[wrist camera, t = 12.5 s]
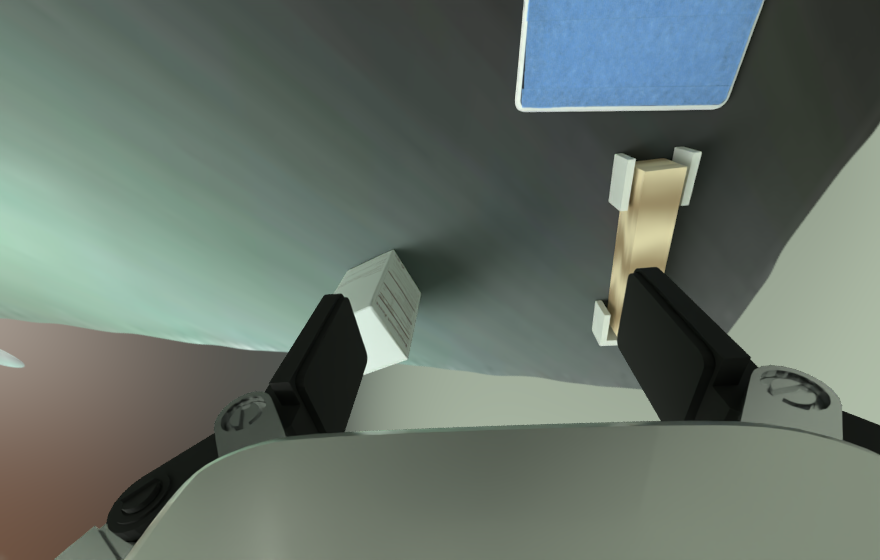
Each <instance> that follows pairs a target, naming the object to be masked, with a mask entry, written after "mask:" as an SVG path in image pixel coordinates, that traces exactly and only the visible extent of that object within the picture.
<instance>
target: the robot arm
mask: <svg viewBox="0 0 880 560" xmlns="http://www.w3.org/2000/svg"><path fill="white" fill-rule="evenodd" d="M617 344H618V347H619V349H620V351H621V353H622V355H623V356H624V358H625V360H626V362H627V363H628V365H629V367H630V368H631V370H632V372H633V374H634V375H635V377H636V379H637V381H638V382H639V384H640V386H641V387H642V389H643V391H644V393H645V394H646V396H647V398H648V399H649V401H650V403H651V405H652V406H653V408H654V410H655V411H656V413H657V415H658V417H659V418H660V420H661V421H646V422H645V421H643V422H642V421H641V422H607V423H574V424H573V423H572V424H541V425H513V426H512V425H511V426H482V427H454V428H429V429H404V430H379V431H358V432H345V428H346V426H347V423H348V419H349V417H350V414H351V410H352V407H353V404H354V401H355V398H356V395H357V392H358V389H359V386H360V383H361V380H362V377H363V374H364V371H365V368H366V365H367V360H368V357H367V352H366V349H365V346H364V343H363V340H362V337H361V334H360V331H359V328H358V325H357V321H356V318H355V315H354V312H353V309H352V306H351V303H350V300H349V298H348V297H344V296H343V294H341V293H340V294H328V295H324V296H323V298H322V299H321V301H320V303H319V304H318V306H317V307H316V309H315V311H314V312H313V314H312V315H311V317H310V319H309V320H308V322H307V323H306V325H305V327H304V328H303V330H302V331H301V333H300V335H299V336H298V338H297V339H296V341H295V343H294V344H293V346H292V347H291V349H290V351H289V352H288V354H287V355H286V357H285V359H284V360H283V362H282V363H281V365H280V366H279V368H278V370H277V371H276V373H275V374H274V376H273V378H272V379H271V381H270V382H269V386H268V388H267V389H266V391H265V392H257V391H256V392H251V393H247V394H245V395H243V396H240V397H238V398H237V399H235V400H234V401H232V402H231V403H229V404H228V405H227V406H226V407H225V408H224V409H223V410H222V411H221V412H220V414H219V415H218V417H217V419H216V421H215V426H214V432H215V433H214V434H212V435H211V436H209V437H207V438H206V439H204V440H202V441H201V442H199V443H197V444H196V445H194V446H193V447H191V448H189V449H188V450H186V451H184V452H183V453H181V454H179V455H178V456H176V457H175V458H173V459H171V460H170V461H168V462H166V463H165V464H163V465H161V466H160V467H158V468H157V469H155V470H153V471H152V472H150V473H148V474H147V475H145V476H143V477H142V478H141V479H139V480H138V481H136V482H135V483H134V484H132V485H131V486H130V487H129V488H128V489H127V490H126V491H125V492H124V493H122V495H121V496H120V497H119V498H118V500H117V501H116V502H115V503H114V505H113V507H112V508H111V510H110V512H109V514H108V519H107V523H106V524H105V525H104V526H103V527H101V528H100V529H98V528H97V527H96V526H94V527H93V528H91V529H90V530H89V531H88V532H87V533H85V534H84V535H83V536H82V537H81V538H79V539H78V540H77V541H76V542H75V543H73V544H72V545H71V546H70V547H68V548H67V549H66V550H65V551H64V552H63V553H61V554H60V555H59V556H58V557H56V558H55V559H54V560H880V425H878V424H875V423H873V422H870V421H867V420H865V419H862V418H860V417H857V416H854V415H852V414H849V413H847V412H844V411H842V404H841V401H840V398H839V397H838V396H837V394H836V393H835V392H834V391H833V390H832V389H831V388H830V387H829V386H827V385H826V384H825V383H823V382H822V381H820V380H818V379H816V378H815V377H813V376H811V375H809V374H806V373H804V372H801V371H799V370H796V369H792V368H787V367H783V366H775V365H769V366H761V367H759V368H758V367H757V366H756V365H755V364H754V363H753V362H752V361H751V360H750V358H751V357H750V356H749V355H748V354H747V353H746V352H745V351H744V350H743V349H742V348H741V347H740V346H739V345H738V344H737V343H735V341H734V340H732V339H731V337H729V336H728V335H727V334H726V333H725V332H724V331H723V330H722V329H721V328H720V327H719V326H718V325H717V324H716V323H715V322H714V321H713V320H712V319H711V318H710V317H709V316H708V315H707V314H706V313H705V312H704V311H703V310H702V309H701V308H700V307H699V306H697V305H696V304H695V303H694V302H693V301H692V300H691V299H690V298H689V297H688V296H687V295H686V294H685V293H684V292H683V291H682V290H681V289H680V288H679V287H678V286H677V285H676V284H675V283H674V282H673V281H672V280H671V279H670V278H669V277H668V276H667V275H666V274H664V273H663V272H662V271H661V270H660V269H659V268H658V267H647V268H637V269H635V271H634V273H630V274H629V276H628V279H627V285H626V290H625V296H624V301H623V307H622V312H621V318H620V323H619V329H618V334H617Z"/></svg>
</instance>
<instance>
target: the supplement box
mask: <svg viewBox="0 0 880 560" xmlns="http://www.w3.org/2000/svg"><path fill="white" fill-rule="evenodd" d="M340 293H341V294H343V296H344V297H348V298H349V300H350V303H351V306H352V309H353V312H354V315H355V318H356V321H357V325H358V328H359V331H360V334H361V337H362V340H363V343H364V346H365V349H366V352H367V357H368V360H367V365H366V368H365V371H364V374H363V375H365V374H368V373H370V372H373V371H376V370H379V369H382V368H385V367H388V366H390V365H393V364H396V363H399V362H402V361H405V360H407V359H408V356H409V351H410V346H411V341H412V337H413V332H414V327H415V322H416V317H417V312H418V307H419V303H420V298H421V292H420V291H419V289H418V287H417V286H416V284H415V283H414V281H413V279H412V278H411V276H410V275H409V273H408V271H407V270H406V268H405V267H404V265H403V263H402V262H401V260H400V259H399V257H398V256H397V254H396V252H395V251H394V250H391V251H389V252H387V253H384V254H382V255H380V256H378V257H376V258H374V259H371V260H369V261H367V262H365V263H363V264H361V265H359V266H357V267H355V268H352V269H350V270H348V271H347V273H346V274H345V276H344V278H343V279H342V281H341V282H340V284H339V286H338V287H337V289H336V290H335V292H334V294H340Z"/></svg>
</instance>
